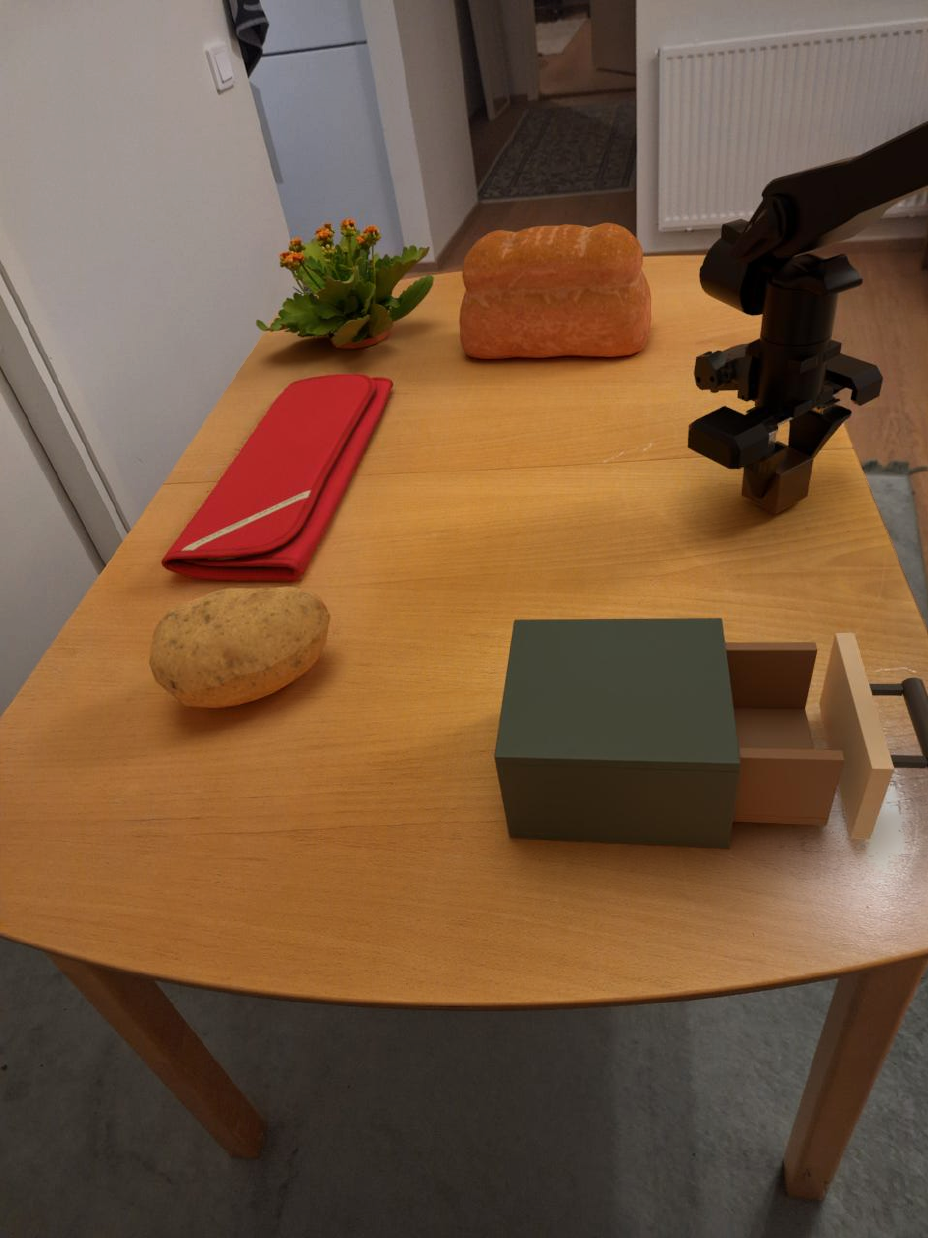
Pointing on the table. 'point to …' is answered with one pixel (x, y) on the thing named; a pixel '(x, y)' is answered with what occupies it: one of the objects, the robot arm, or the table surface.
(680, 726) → the cabinet
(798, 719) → the drawer
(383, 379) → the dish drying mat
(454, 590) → the table surface
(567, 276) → the bread
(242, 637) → the potato
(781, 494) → the block
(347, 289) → the potted flower
